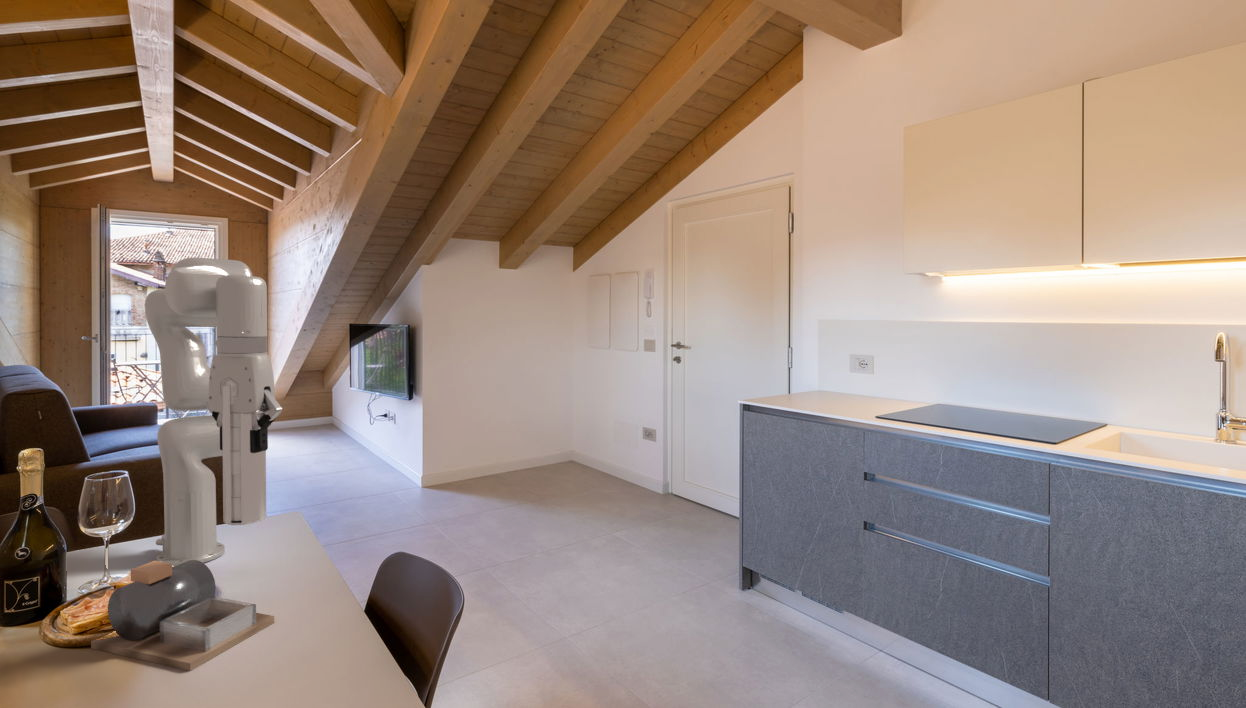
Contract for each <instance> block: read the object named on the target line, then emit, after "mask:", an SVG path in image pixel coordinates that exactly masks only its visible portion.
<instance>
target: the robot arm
mask: <svg viewBox="0 0 1246 708" xmlns="http://www.w3.org/2000/svg"><path fill="white" fill-rule="evenodd" d="M144 311H145V317H146V321H147V324H148V328H149V329H150V332H151V334H152V335H153V336H152V337H153V339H154V340H155V343H156V344H157V347H158V350H159V357H160V358H159V360H160V374H161V385H162V386H161V388H162V396H163V401H164V403H165V407H167V408H168V409H169V410H172V411H178V412H185V411H186V412H187V411H188V412H189V411H202V410H208V411H209V413H210V415H208V414H206V415H194V416H184V417H183V416H182V417H178V418H174V419H170V420H168V421H165V422H164V423H163V424H162V425H160V427H159V428H158V431H157V437H156V438H157V440H156V441H157V446H158V449H159V455H160V459H161V460H160V461H161V466H162V474H163V475H162V477H163V480H162V481H163V506H164V507H163V509H164V510H163V515H164V517H163V518H164V533H163V534H162V535H161V538H158V539H156V540H155V545H156V546H162V551H161V552H160V553H158V555H157V556H156V561H162V562H165V563H171V564H172V565H173V566H176V565H179V564H181V563H184V562H186V561H189V560H198V561H200V562H202V563H204V564H205V563H207V562H210V561H213V560H215V559H217V558H219V557H220V556H222V555H223V554H224V553H225V552H226V547H225V545H224V544H223V543H221V542H217V493H216V492H217V491H216V490H217V489H216V488H217V487H216V486H217V485H216V483H217V481H216V477H215V473H214V472H213V471H212V470H211V469H210V468H209V467H208V466H207V465H205V464H204V463H203V462H202V460H204V459H209V458H214V457H215V458H216V457H223V448H222V412H223V396H222V395H223V385H226V381H233V383H234V384H235V393H236V395H235V396H233V398H235V397H236V398H235V399H233V404H231V408H232V413H235V414H240V413H241V414H251V420H252V426H253V429H254V430H250V449H251V453H257V452H261V451H265V450H266V451H267V450H268V447H269V440H268V438H269V436H268V435H269V433H268V429H269V428H271V427H272V424H273V422H274V421H275V420H276V418H277V417H278V416H279V415H280V414H281V413H282V412H283V407H282V406H281V405H280V403H279V402H278V401H277V399H276V395H275V378H274V370H273V365H272V360H271V356H270V355H269V354H268V353H269V352H268V287H267V282H266V281H265V279H263V278H262V277H259V276H254V275H253V272H252V271H251V268H250V267H249V266H248V265H247V264H246V263H244V262H243V261H241V260H235V259H225V258H224V259H223V258H222V259H221V258H209V257H197V256H196V257H186V258H183V259H181V260H179V261H177V262H175V264H174V265H173V266H172V267H171V269H170V271H169V273H168V275H167V277H166V279H165V284H164V288H158V289H156V290H153V291H151V292H149V293H148V294H147V296H146V298H145V300H144ZM188 328H216V340H215V342H214V345H215V346H216V354H214V355H212V360H211V365H210V367H209V365H208V362H207V360H208V359H207V349H206V345H205V344H204V342H203V341H202V340H201V339H200V338H199V337H198V336H197V335H196V334H195V333H194V332H193V331H191V330H190V329H188ZM233 392H234V386H233ZM263 401H264V403H263ZM262 405H263V410H260V408H261V406H262ZM257 410H260V411H257ZM259 414H263V417H262V418H261V419H260V420H259V418H258V415H259Z"/></svg>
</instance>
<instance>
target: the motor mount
mask: <svg viewBox="0 0 1246 708" xmlns="http://www.w3.org/2000/svg"><path fill="white" fill-rule="evenodd" d="M107 616H108V619H109V622H110V624H111V627H112V628H113V631H114V630H115V631H116V633H117V634H118V635H119V636H116V637H112V638H108V639H107V638H106V639H100V640H95V639H92V640H91V641H90V648H91V649H92V650H93V649H94V650H97V651H102V652H106V653H111V654H115V655H120V656H124V657H129V658H132V659H137V660H141V661H145V662H150V663H153V664H159V665H163V666H167V667H172V668H176V669H180V670H183V671H184V670H185V671H187V672H188V671H190V672H191V671H193V670H194V669H196V668H198V667H200V666H201V665H203V664H205V663H207V662H209V661H211V660H212V659H214V658H215V657H218V656H219V655H221V654H222V653H224V652H225V651H228V650H230V649H231V648H233V647H234V646H236V645H238V644H240V643H242V642H243V641H245V640H246V639H248V638H250V637H252V636H253V635H255V634H257V633H259V632H260V631H263V630H264V629H266V628H267V627H269V626H271V625H272V624H274V623H275V615H271V614H265V613H260V612H257V604H256V603H250V602H245V601H239V600H234V599H231V598H230V599H228V598H223V597H219V596H218V597H217V596H216V581H215V578H214V574H213V572H212V571H211V569H210V568H209V567H208V565H206V564H205V562H204V563H202V562H200V561H198V560H189V561H186V562H184V563H181V564H179V565H176V566H174V567H172V564H171V563H165V562H160V561H157V560H153V561H150V562H147V563H144V564H141V565H139V566H137V567H133V568H131V569H130V583H127V584H126V585H123V586H120V587H118V588H116V589H115V590H113V592H112V593H111V595H110V597H109V599H108V603H107Z"/></svg>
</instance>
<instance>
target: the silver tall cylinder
mask: <svg viewBox="0 0 1246 708" xmlns="http://www.w3.org/2000/svg"><path fill="white" fill-rule="evenodd" d="M233 386H234V392H233ZM235 395H236V393H235V384H234V383H233V381H226V385H223V395H222V396H223V412H222V448H223V456H222V503H223V504H222V505H223V506H222V508H223V511H222V512H223V513H222V514H223V518H222V519H223V523H224V524H226V525H229V526H243V525H251V524H255V523H258V522H261V521H264V520H265V519H266V518H267V461H266V460H267V457H266V454H267V450H265V451H261V452H257V453H251V449H250V430H254V429H253V426H252V420H251V414H241V413H240V414H235V413H232V408H231V404H233V399H235V398H236V397H235V398H233V396H235ZM263 403H264V401H263ZM260 410H263V405H262V406H261V408H260ZM260 410H257V411H260ZM262 417H263V414H259V415H258V418H259V420H260V419H261V418H262Z"/></svg>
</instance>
